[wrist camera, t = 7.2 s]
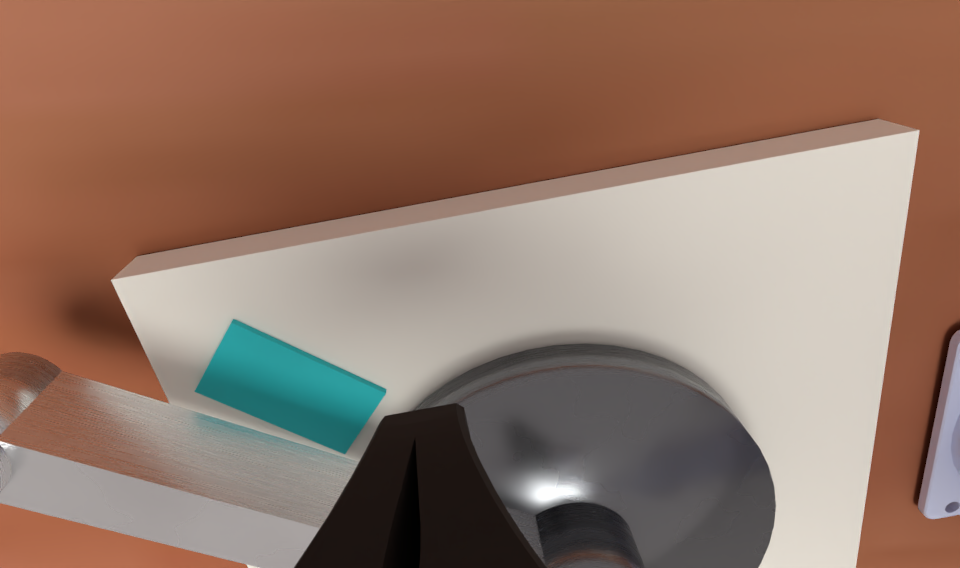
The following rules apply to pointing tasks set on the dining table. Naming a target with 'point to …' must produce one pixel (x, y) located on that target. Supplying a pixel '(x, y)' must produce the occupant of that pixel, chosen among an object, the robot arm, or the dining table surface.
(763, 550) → the crank handle
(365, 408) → the base board
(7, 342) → the dining table surface
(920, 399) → the dining table surface
